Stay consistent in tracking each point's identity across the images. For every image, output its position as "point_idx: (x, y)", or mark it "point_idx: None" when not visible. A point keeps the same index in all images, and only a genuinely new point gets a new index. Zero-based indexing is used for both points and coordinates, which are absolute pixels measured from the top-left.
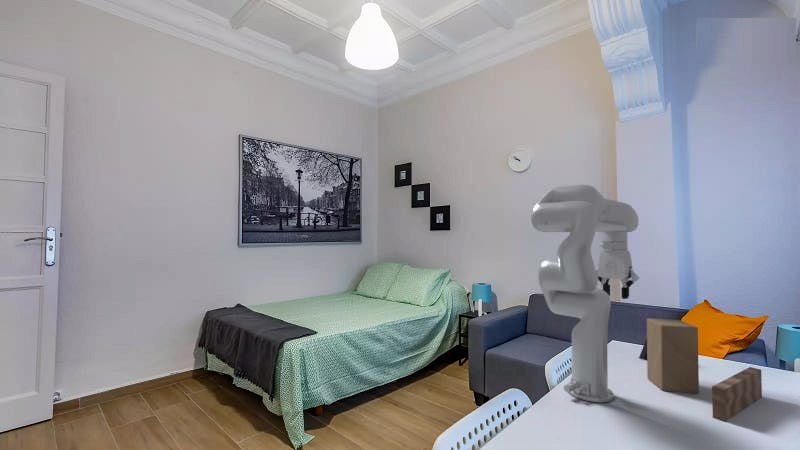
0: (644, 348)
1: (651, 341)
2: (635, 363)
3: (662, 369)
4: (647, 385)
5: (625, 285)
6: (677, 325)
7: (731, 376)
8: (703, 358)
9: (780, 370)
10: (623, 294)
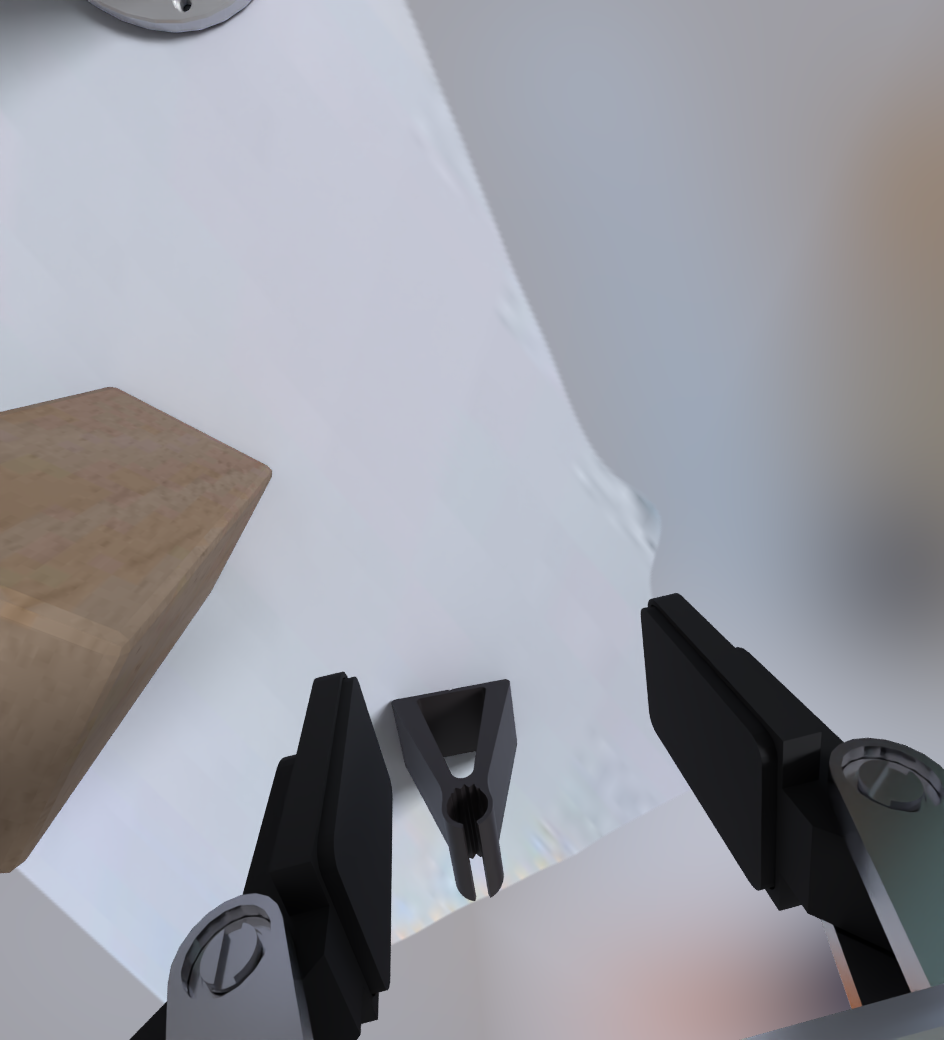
0: (491, 722)
1: (115, 510)
2: (462, 603)
3: (43, 403)
4: (195, 382)
5: (210, 972)
6: None
7: None
8: (410, 909)
9: None
10: (306, 733)
